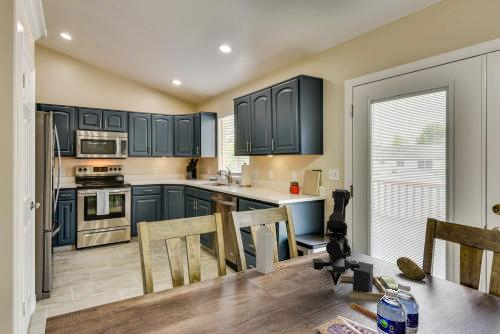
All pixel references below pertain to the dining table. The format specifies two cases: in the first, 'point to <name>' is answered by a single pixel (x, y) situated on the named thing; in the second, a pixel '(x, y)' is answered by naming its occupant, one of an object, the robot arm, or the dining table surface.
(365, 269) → the small box
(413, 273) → the potato
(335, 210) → the robot arm
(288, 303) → the dining table surface
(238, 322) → the dining table surface
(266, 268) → the milk
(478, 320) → the dining table surface
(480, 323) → the dining table surface
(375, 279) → the light tan flat part
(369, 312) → the chocolate bar
